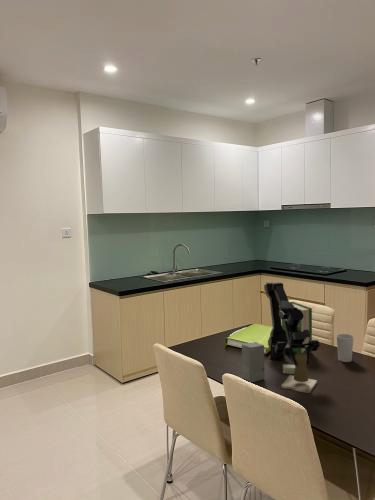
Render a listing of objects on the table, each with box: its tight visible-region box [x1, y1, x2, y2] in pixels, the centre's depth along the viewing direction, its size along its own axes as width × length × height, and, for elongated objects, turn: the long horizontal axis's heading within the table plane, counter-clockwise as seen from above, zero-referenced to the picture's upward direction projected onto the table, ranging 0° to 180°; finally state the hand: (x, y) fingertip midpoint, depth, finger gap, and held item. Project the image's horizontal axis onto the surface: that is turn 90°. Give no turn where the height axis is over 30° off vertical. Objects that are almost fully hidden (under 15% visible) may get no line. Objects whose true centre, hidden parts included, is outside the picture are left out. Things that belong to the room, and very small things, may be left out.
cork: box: [293, 353, 309, 382], centre depth 169 cm, size 6×6×11 cm
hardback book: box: [281, 301, 313, 354], centre depth 216 cm, size 18×7×24 cm, turn 17°
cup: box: [336, 333, 355, 363], centre depth 198 cm, size 8×8×12 cm
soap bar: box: [282, 363, 295, 375], centre depth 185 cm, size 6×4×3 cm, turn 77°
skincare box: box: [241, 341, 265, 383], centre depth 179 cm, size 8×7×16 cm
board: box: [280, 374, 318, 394], centre depth 171 cm, size 12×12×1 cm
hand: (302, 365), depth 168 cm, fingers closed on cork, 5 cm apart
